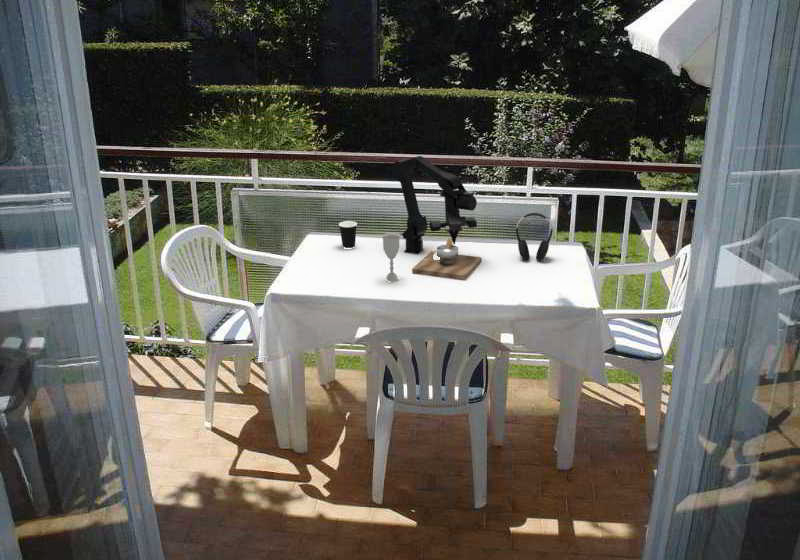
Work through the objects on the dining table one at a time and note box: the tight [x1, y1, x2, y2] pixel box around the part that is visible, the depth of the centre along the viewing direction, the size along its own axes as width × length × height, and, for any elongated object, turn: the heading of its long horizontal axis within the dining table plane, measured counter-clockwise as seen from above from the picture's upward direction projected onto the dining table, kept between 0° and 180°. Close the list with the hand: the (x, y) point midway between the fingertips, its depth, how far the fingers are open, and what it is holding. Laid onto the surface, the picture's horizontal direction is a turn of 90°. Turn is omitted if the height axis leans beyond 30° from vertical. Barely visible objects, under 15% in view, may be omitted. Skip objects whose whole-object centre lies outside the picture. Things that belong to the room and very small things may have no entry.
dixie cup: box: [338, 220, 358, 248], centre depth 334 cm, size 8×8×11 cm
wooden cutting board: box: [411, 250, 483, 281], centre depth 311 cm, size 22×22×5 cm
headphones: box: [515, 212, 554, 261], centre depth 316 cm, size 9×15×20 cm, turn 80°
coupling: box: [436, 238, 459, 259], centre depth 313 cm, size 15×8×3 cm, turn 171°
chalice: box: [381, 232, 401, 282], centre depth 297 cm, size 7×7×18 cm
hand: (454, 244), depth 317 cm, fingers closed
